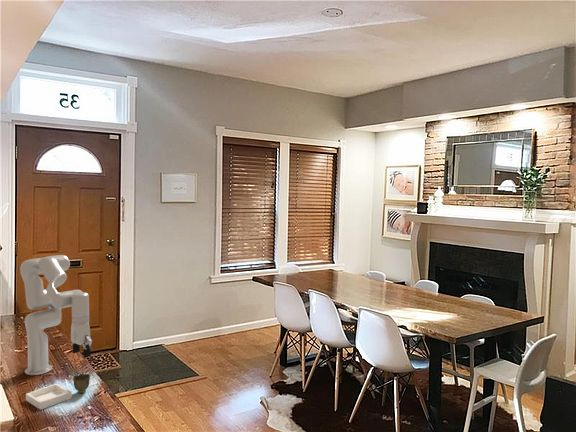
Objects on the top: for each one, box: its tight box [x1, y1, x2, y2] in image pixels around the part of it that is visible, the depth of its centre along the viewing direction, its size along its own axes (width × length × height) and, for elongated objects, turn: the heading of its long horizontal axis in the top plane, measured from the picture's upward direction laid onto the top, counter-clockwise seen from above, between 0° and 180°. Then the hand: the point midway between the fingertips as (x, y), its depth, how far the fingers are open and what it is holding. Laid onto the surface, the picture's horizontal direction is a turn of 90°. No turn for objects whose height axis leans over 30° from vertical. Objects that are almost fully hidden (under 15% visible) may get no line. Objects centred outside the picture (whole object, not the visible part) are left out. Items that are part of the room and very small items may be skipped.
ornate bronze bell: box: [72, 372, 91, 394], centre depth 219 cm, size 8×7×8 cm
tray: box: [25, 383, 73, 410], centre depth 212 cm, size 14×14×3 cm
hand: (81, 354), depth 218 cm, fingers open, 9 cm apart
